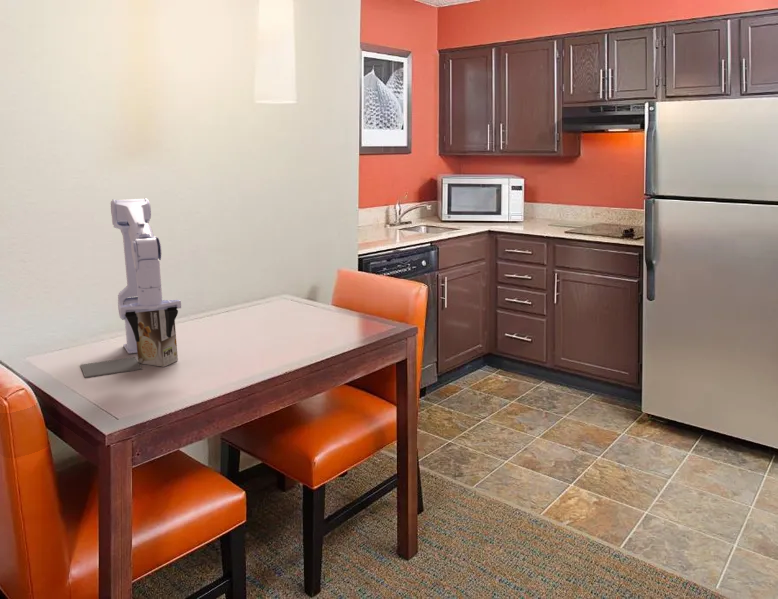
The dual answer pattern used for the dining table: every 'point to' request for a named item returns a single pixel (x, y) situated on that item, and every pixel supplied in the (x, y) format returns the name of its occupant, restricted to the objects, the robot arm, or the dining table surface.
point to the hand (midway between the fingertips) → (153, 338)
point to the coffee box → (155, 339)
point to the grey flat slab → (110, 367)
